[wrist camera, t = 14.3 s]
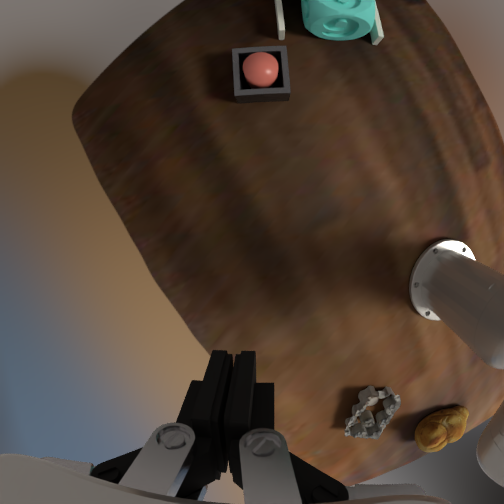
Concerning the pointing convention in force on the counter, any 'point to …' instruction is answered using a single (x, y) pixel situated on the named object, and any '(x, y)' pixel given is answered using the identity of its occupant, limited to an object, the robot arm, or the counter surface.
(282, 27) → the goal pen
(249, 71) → the button
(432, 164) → the counter surface
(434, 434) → the bread roll
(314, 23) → the decorative dice
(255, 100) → the button collar
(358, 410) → the egg carton
